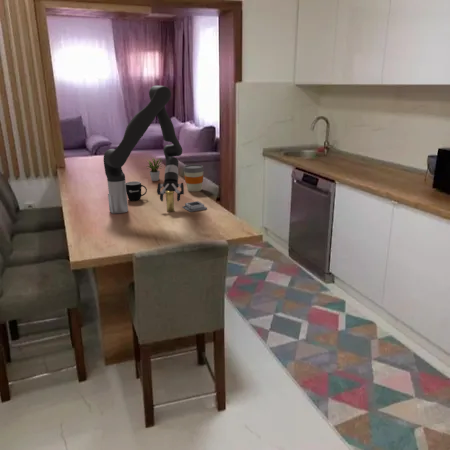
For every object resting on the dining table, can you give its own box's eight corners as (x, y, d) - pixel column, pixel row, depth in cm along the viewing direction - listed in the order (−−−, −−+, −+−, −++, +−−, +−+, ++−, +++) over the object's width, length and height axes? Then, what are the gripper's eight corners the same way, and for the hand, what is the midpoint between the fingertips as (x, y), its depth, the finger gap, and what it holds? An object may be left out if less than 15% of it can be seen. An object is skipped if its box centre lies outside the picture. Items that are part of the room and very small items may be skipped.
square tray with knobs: (190, 212, 231) (190, 207, 231) (182, 207, 240) (182, 203, 239) (207, 209, 236) (206, 204, 235) (198, 204, 244) (198, 200, 243)
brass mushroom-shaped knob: (168, 212, 231) (167, 192, 228) (165, 210, 235) (163, 190, 232) (176, 211, 234) (175, 191, 230) (172, 209, 237) (171, 189, 234)
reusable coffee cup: (201, 192, 271) (200, 168, 266) (182, 191, 273) (181, 168, 268) (206, 187, 282) (205, 164, 277) (187, 187, 285) (186, 164, 280)
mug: (127, 202, 252) (125, 185, 248) (126, 198, 260) (125, 181, 257) (148, 200, 254) (146, 183, 251) (146, 196, 263) (145, 180, 259)
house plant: (169, 177, 312) (167, 155, 307) (164, 182, 299) (163, 158, 294) (149, 177, 313) (148, 155, 308) (144, 182, 300) (142, 158, 295)
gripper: (157, 171, 236) (155, 197, 229) (183, 171, 236) (182, 197, 228) (159, 178, 243) (157, 204, 235) (185, 178, 242) (184, 203, 235)
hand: (169, 200), depth 232 cm, fingers open, 8 cm apart
